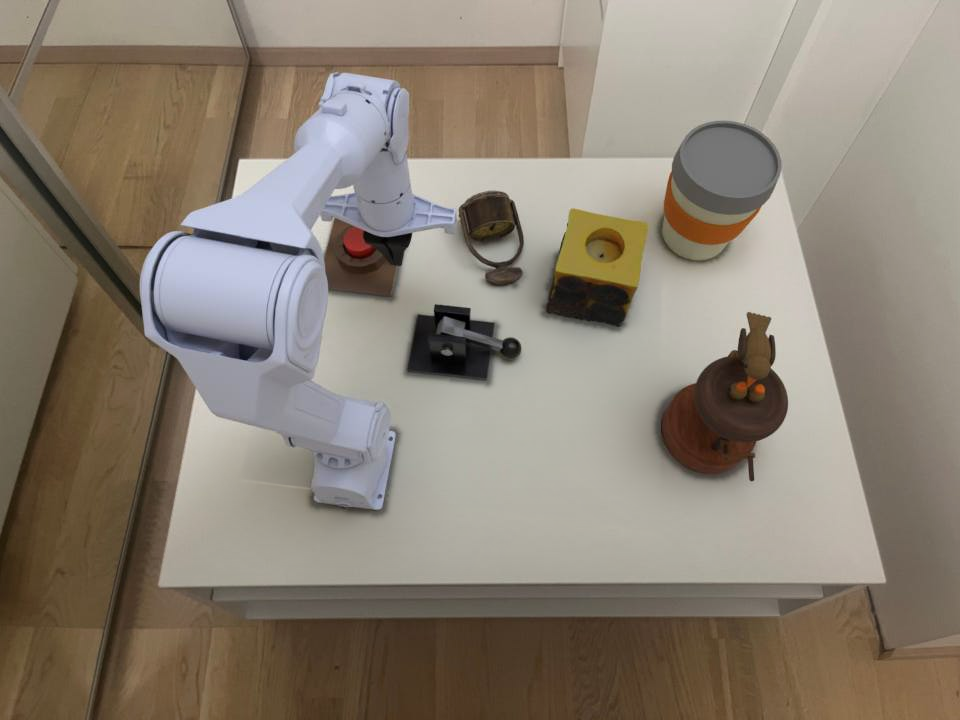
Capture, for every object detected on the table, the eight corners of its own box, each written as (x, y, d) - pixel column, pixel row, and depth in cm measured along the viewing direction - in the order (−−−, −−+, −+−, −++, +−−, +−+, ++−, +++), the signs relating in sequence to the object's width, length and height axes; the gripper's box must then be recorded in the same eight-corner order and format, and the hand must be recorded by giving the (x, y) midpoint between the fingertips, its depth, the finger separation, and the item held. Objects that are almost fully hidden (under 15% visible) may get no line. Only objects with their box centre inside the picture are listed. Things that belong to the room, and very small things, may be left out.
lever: (517, 345, 85) (526, 337, 83) (514, 365, 84) (524, 357, 82) (437, 322, 82) (444, 312, 80) (434, 342, 81) (441, 333, 79)
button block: (391, 298, 89) (389, 286, 86) (318, 290, 89) (313, 278, 86) (407, 225, 94) (405, 211, 91) (337, 218, 94) (333, 204, 92)
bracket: (494, 326, 87) (495, 299, 81) (487, 382, 83) (487, 358, 77) (418, 317, 87) (413, 290, 81) (408, 373, 84) (402, 349, 78)
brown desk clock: (539, 186, 90) (467, 169, 88) (533, 260, 83) (455, 242, 82) (524, 222, 96) (456, 205, 94) (518, 293, 89) (445, 277, 88)
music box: (648, 381, 83) (711, 298, 65) (732, 381, 84) (817, 299, 66) (668, 502, 77) (744, 448, 59) (759, 500, 78) (862, 446, 60)
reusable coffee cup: (651, 269, 90) (681, 197, 77) (646, 195, 96) (674, 116, 82) (744, 273, 90) (791, 202, 77) (734, 199, 95) (776, 120, 82)
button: (372, 260, 88) (370, 252, 86) (343, 256, 88) (340, 249, 87) (378, 235, 90) (376, 227, 88) (349, 232, 90) (347, 224, 88)
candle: (544, 314, 87) (551, 272, 78) (559, 252, 92) (567, 205, 83) (621, 330, 86) (638, 290, 77) (632, 266, 91) (649, 221, 82)
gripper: (458, 157, 68) (462, 237, 80) (319, 144, 69) (344, 225, 81) (448, 213, 65) (454, 286, 77) (303, 198, 66) (331, 273, 78)
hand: (397, 258), depth 79 cm, fingers closed
